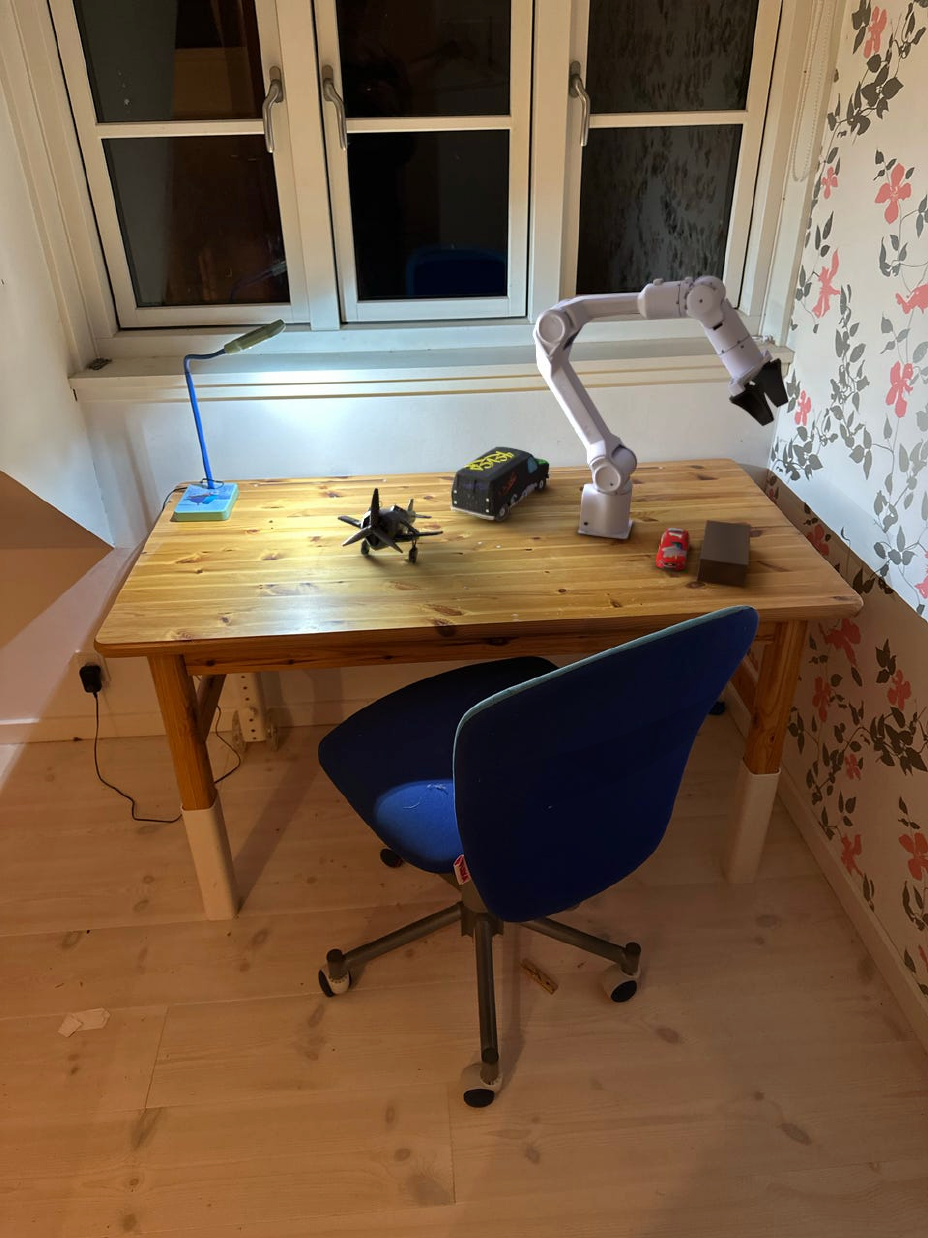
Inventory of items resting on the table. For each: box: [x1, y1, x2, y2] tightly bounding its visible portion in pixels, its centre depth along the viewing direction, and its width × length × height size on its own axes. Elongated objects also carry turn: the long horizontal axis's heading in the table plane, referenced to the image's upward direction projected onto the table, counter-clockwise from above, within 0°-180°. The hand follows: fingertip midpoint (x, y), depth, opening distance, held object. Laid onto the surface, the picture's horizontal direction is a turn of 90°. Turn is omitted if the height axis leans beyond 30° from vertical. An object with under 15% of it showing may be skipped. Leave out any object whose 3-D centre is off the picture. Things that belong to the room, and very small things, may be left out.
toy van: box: [450, 446, 551, 522], centre depth 174 cm, size 11×25×10 cm, turn 148°
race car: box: [655, 527, 691, 571], centre depth 153 cm, size 13×5×4 cm, turn 161°
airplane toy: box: [337, 487, 444, 565], centre depth 153 cm, size 20×19×15 cm
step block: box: [696, 519, 752, 588], centre depth 151 cm, size 8×16×4 cm, turn 162°
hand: (775, 413), depth 141 cm, fingers open, 7 cm apart
